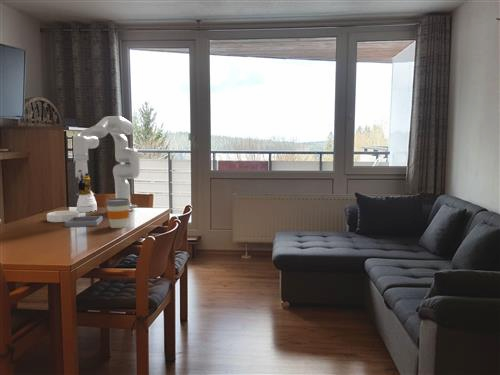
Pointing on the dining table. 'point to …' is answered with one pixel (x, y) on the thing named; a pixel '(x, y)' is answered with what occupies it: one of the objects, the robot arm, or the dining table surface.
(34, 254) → the dining table surface
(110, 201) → the reusable coffee cup
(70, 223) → the square frame
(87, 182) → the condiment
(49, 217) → the bowl
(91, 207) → the honey pot
